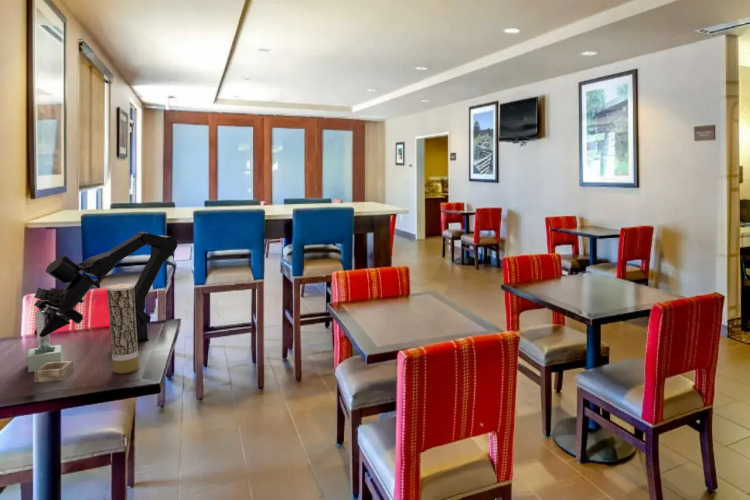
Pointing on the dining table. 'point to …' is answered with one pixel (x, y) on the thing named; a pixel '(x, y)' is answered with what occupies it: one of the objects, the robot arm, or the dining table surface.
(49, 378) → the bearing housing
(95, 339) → the dining table surface
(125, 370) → the wooden log
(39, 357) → the socket block
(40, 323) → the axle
